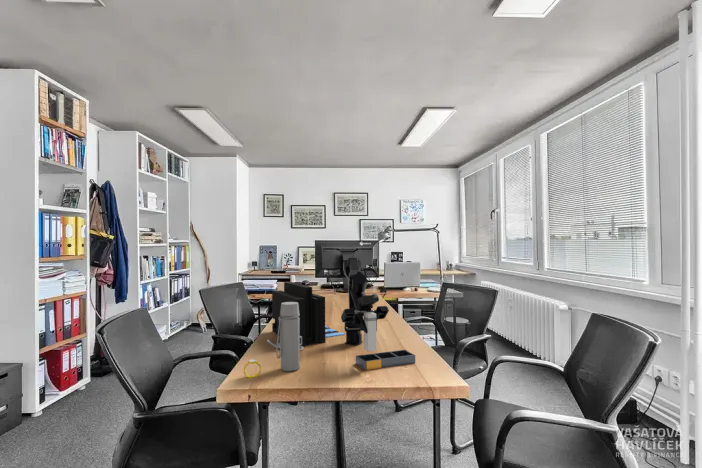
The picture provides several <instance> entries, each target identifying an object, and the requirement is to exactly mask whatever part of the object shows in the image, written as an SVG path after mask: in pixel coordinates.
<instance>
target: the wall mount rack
mask: <svg viewBox="0 0 702 468" xmlns="http://www.w3.org/2000/svg"><path fill="white" fill-rule="evenodd" d="M300 338H301V344H300V345H302V337H301V336H300ZM266 342H267V343H269V344H270V345H272V346H273V347H274V348H275V349H276V348H277V343H273V342H271V341H270V340H269V339H267V340H266ZM278 349H280V342H278ZM302 350H304V346H300V351H302Z"/></svg>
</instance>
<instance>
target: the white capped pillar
mask: <svg viewBox="0 0 702 468" xmlns="http://www.w3.org/2000/svg"><path fill="white" fill-rule="evenodd" d="M363 320H364V322H365V325H366V327H367V331H368V332H367V333H365V332H364V331H363V349H364V350H365V351H367V352H375V351H377V349H378V348H377V345H378V344H377V332H376V321H377V322H378V319H377V318H376V313H373V312H366V313H364V316H363Z"/></svg>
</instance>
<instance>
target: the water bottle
mask: <svg viewBox="0 0 702 468" xmlns="http://www.w3.org/2000/svg"><path fill="white" fill-rule="evenodd" d="M280 315H281V316H280V317H282V318H280V317H278V319H279V328H280V336H279V329H278V335H277V340H276V344H277V345H276V346H277V348H275V349H276V350H275V354H276V359H280V369H281V370H282V371H285V372H295V371H297V370H299V369H300V366H301V365H300V364H301V362H300V361H301V359H300V357H301V353H300V351H301V350H300V349H301V347H300V318H299V317H298V316H300V314H299V305H298V302H284V303H281V311H280ZM280 322H281V327H280ZM278 343H280V344H279V345H280V350H279V353H280V354H278V349H279V348H278Z"/></svg>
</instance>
